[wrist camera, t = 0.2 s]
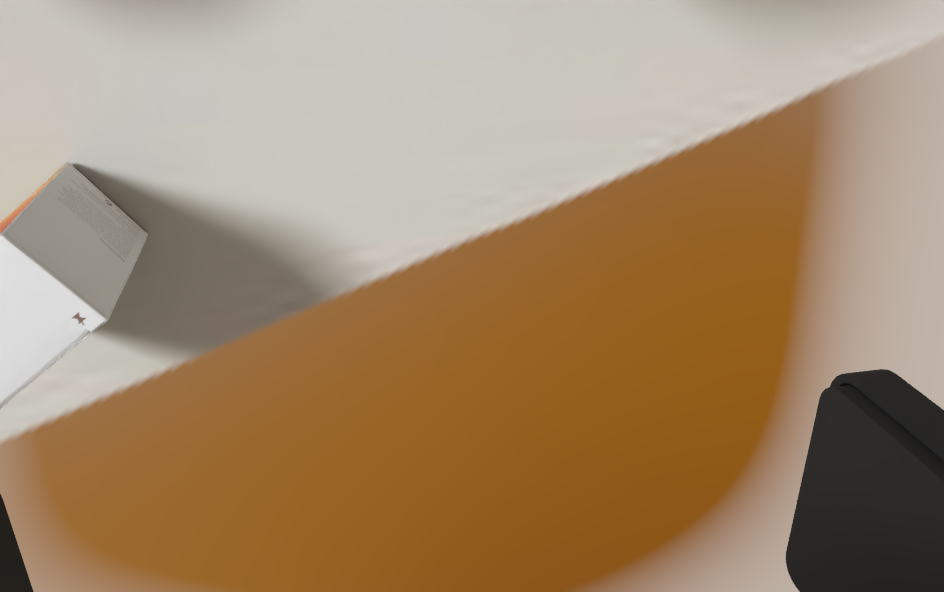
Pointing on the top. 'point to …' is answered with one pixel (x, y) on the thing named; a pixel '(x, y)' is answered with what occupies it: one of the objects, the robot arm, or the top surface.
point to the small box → (59, 273)
